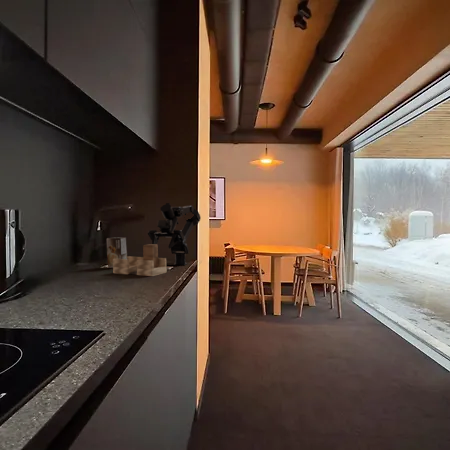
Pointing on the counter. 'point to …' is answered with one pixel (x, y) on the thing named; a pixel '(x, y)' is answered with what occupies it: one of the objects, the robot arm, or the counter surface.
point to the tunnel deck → (139, 266)
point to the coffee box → (116, 249)
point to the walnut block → (151, 253)
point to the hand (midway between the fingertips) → (160, 247)
